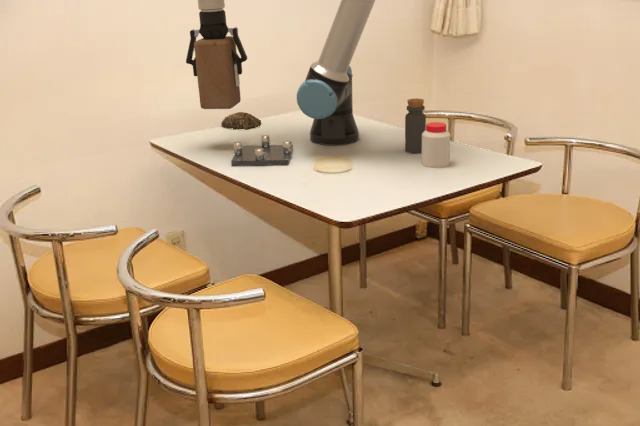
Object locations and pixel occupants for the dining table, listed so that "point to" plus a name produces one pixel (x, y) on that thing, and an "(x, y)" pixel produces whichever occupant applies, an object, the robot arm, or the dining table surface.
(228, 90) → the wooden block
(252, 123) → the brown rounded lump
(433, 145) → the pill bottle
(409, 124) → the bottle
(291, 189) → the dining table surface
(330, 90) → the robot arm
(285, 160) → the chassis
